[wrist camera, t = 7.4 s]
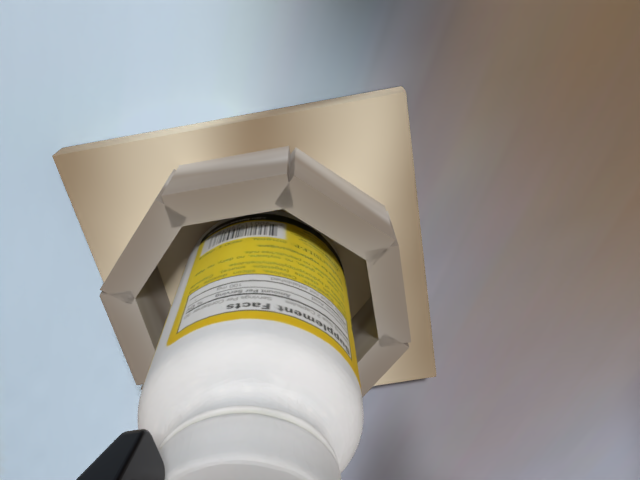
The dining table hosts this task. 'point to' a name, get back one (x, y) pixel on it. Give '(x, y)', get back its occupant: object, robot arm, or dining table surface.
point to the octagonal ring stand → (257, 197)
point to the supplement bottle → (256, 358)
